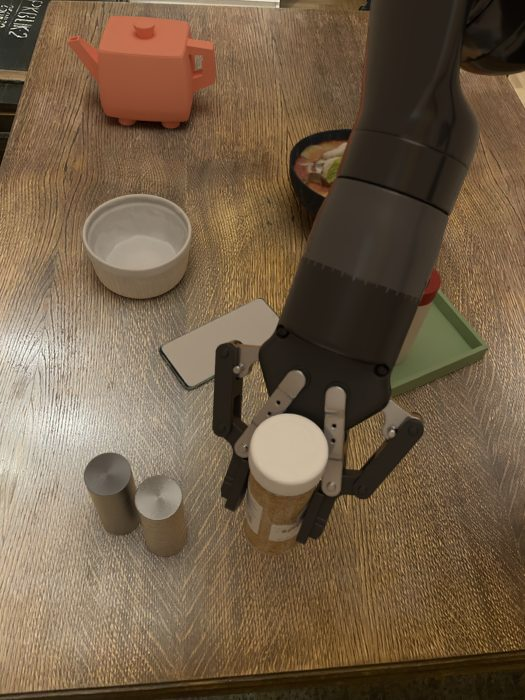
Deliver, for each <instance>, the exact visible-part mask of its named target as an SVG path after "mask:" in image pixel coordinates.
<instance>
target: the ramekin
mask: <svg viewBox="0 0 525 700" xmlns="http://www.w3.org/2000/svg"><path fill="white" fill-rule="evenodd" d="M81 240H82V245H83V249H84V251H85V253H86V255H87V257H88V258H89V259H90V261H91V264H92V266H93V269H94V272H95V274H96V276H97V277H98V279H99V281H100V283H102V285H103V286H104V287H105V288H107V289H108V290H110V291H111V292H113V293H115V294H116V295H119V296H122V297H125V298H131V299H137V300H142V299H151V298H155V297H158V296H162V295H163V294H166V293H167V292H169V291H170V290H172V289H174V288H175V287H176V286H177V285H178V284H179V283H180V281H182V279H183V277H184V276H185V273H186V272H187V268H188V264H189V263H188V262H189V256H190V248H191V246H192V243H193V242H192V241H193V231H192V224H191V221H190V219H189V217H188V215H187V214H186V212H185V211H184V210H183V209H182V208H181V207H180V206H179V205H178V204H176V203H175V202H173V201H171V200H169V199H167V198H164V197H161V196H158V195H153V194H147V193H134V194H133V193H132V194H126V195H121V196H117V197H115V198H112V199H109V200H107V201H105V202H103V203H101V204H100V205H98V206H97V207H96V208H95V209H93V211H92V212H91V213H89V215H88V216H87V217H86V219H85V221H84V223H83V226H82V230H81Z"/></svg>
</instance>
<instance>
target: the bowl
mask: <svg viewBox="0 0 525 700" xmlns="http://www.w3.org/2000/svg"><path fill="white" fill-rule="evenodd" d="M352 129H353V128H341V129H340V128H339V129H329V130H322V131H318V132H315V133H312V134H308V135H306V136H305V137H303V138H302V139H300V140H298V141H297V142H296V143H295V144H294V145H293V147H292V149H291V151H290V153H289V159H288V160H289V163H288V175H289V180H290V185H291V187H292V189H293V192H294V194H295V197H296V198H297V200H298V201H299V203H300V204H301V205H302V206H303V208H304V209H305V210H306V211H307V212H308V213H309V214H310V215H311V216H312V217H314V219H315V218H316V216H317V214H318V211H319V209H320V207H321V205H322V203H323V201H324V199H325V198H326V196H327V194H328V192H329V190H330V188H331V185H332V183H333V181H334V179H335V178H336V176H335V175H336V172H337V170H338V167H339V164H340V161H341V158H342V156H343V153H344V150H345V147H346V145H347V142H348V139H349V136H350V134H351V131H352Z"/></svg>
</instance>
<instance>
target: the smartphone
mask: <svg viewBox="0 0 525 700" xmlns="http://www.w3.org/2000/svg"><path fill="white" fill-rule="evenodd" d="M279 318H280V316H279V314H278V313H277V312H276V311H275V310H274V309H273V308H272V307H271V305H270V304H269V303H268V302H267V301H266V300H265V299H264V298H262V297H256V298H254V299H253V300H250V301H248V302H246V303H244V304H242V305H240V306H238V307H236V308H234V309H232V310H230V311H228V312H226V313H224V314H222V315H220V316H218V317H216V318H214V319H212V320H210V321H208V322H206V323H204V324H202V325H200V326H198V327H196V328H194V329H192V330H190V331H188V332H186V333H184V334H181V335H180V336H178V337H175V338H173V339H172V340H169V341H167V342H165V343H163V344H161V345H160V346H159V348H158V351H159V353H160V355H161V357H162V358H163V359H164V360H165V362H166V364H167V365H168V367H169V368H171V370H172V371H173V373H174V375H175V376H176V377H177V378H178V380H179V382H180V383H181V384H182V386H183V387H184V388H185V389H187V390H192V389H195V388H197V387H199V386H201V385H202V384H204V383H206V382H208V381H210V380H211V379H214V374H215V352H216V348H217V347H218V346H219V345H220V344H223V343H226V342H230V341H233V340H239V341H240V342H242V343H243V344H246V345H258V346H261V345H262V344H263V343H264V342H265V341H266V340H268V339H269V338H270V337H271V335H272V334H273V333H274V331H275V329H276V327H277V324H278V321H279Z"/></svg>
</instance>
